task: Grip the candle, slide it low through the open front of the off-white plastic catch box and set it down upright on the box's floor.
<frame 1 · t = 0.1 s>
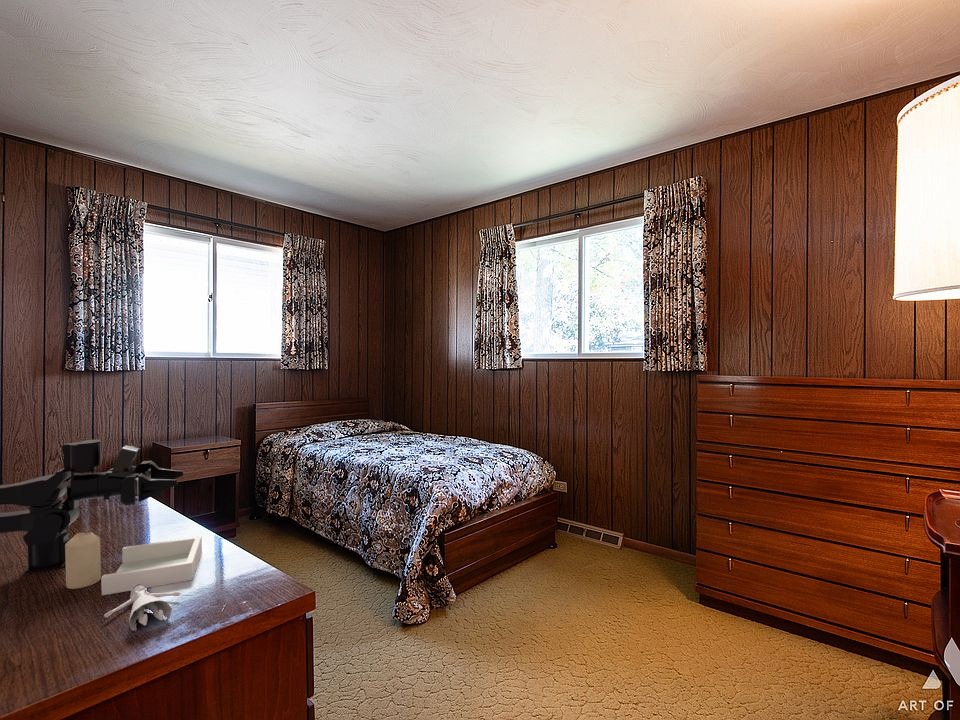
hand: (180, 477, 118), 17 cm above the dresser, tool horizontal, fingers open, 9 cm apart
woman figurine: (145, 614, 88), on the dresser
catch box: (153, 571, 104), on the dresser
candle: (83, 583, 100), on the dresser
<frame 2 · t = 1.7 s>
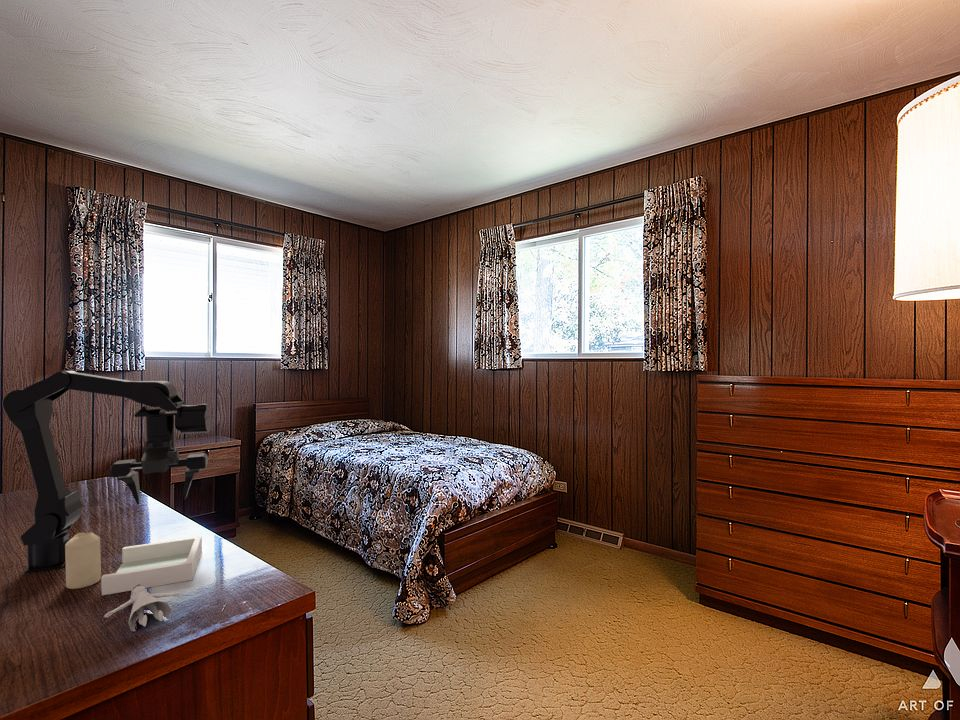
hand: (162, 501, 114), 12 cm above the dresser, tool pointing down, fingers open, 9 cm apart
nothing on the dresser moved.
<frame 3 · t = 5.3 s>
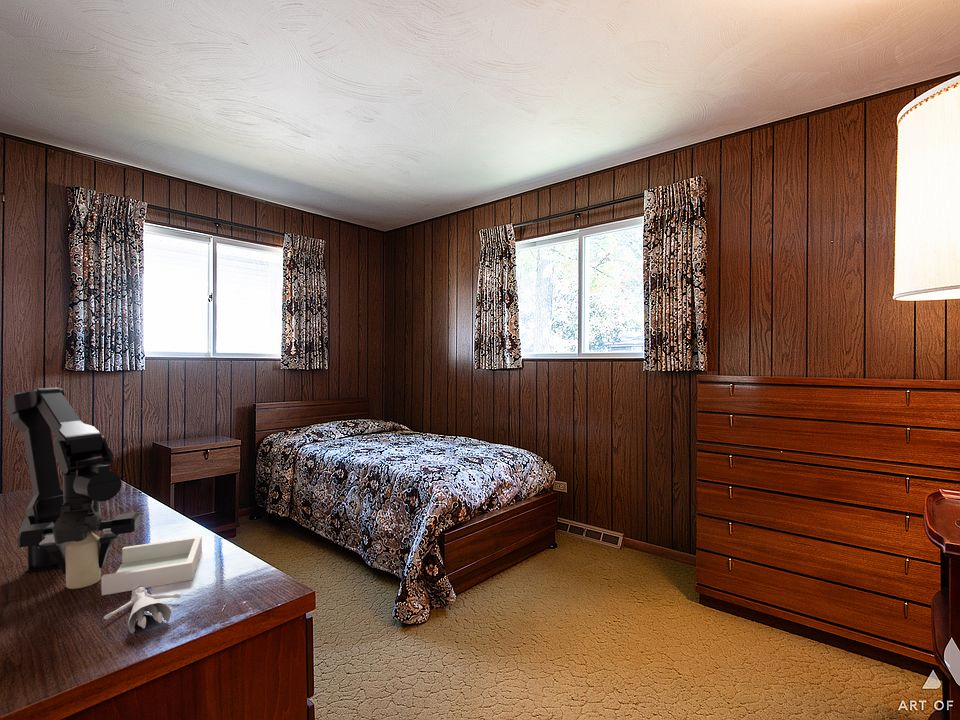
hand: (83, 570, 100), 3 cm above the dresser, tool pointing down, fingers closed on candle, 5 cm apart
candle: (83, 583, 100), on the dresser, touching gripper
when the fingers open (3 cm above the dresser, at t = 9.4 s): candle stays where it is, resting on catch box.
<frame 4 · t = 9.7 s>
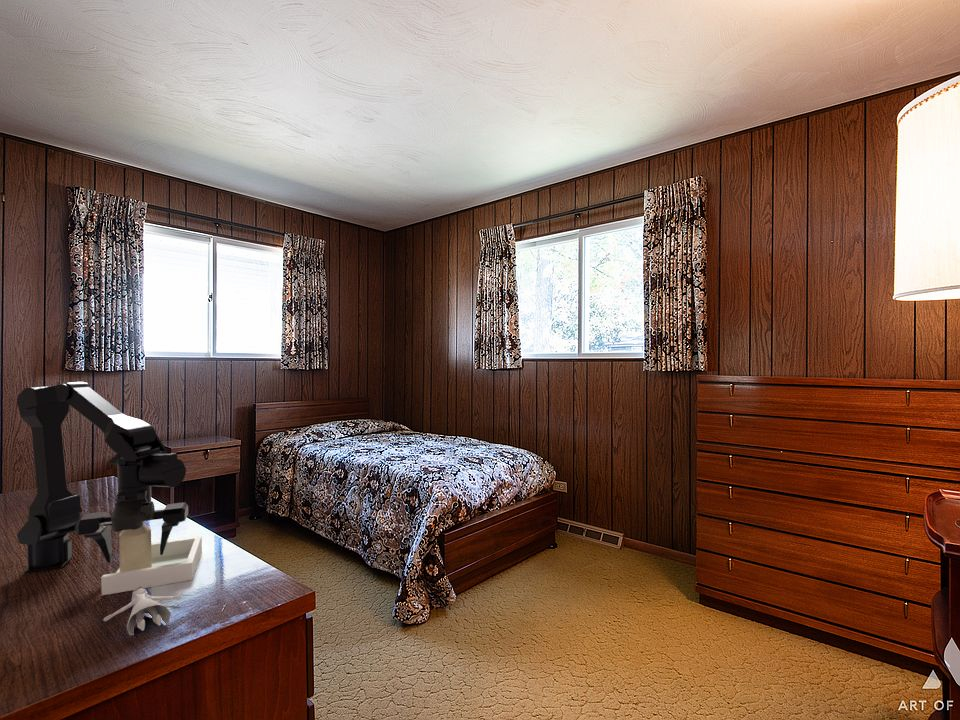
hand: (136, 558, 103), 3 cm above the dresser, tool pointing down, fingers open, 9 cm apart
candle: (136, 573, 103), resting on catch box
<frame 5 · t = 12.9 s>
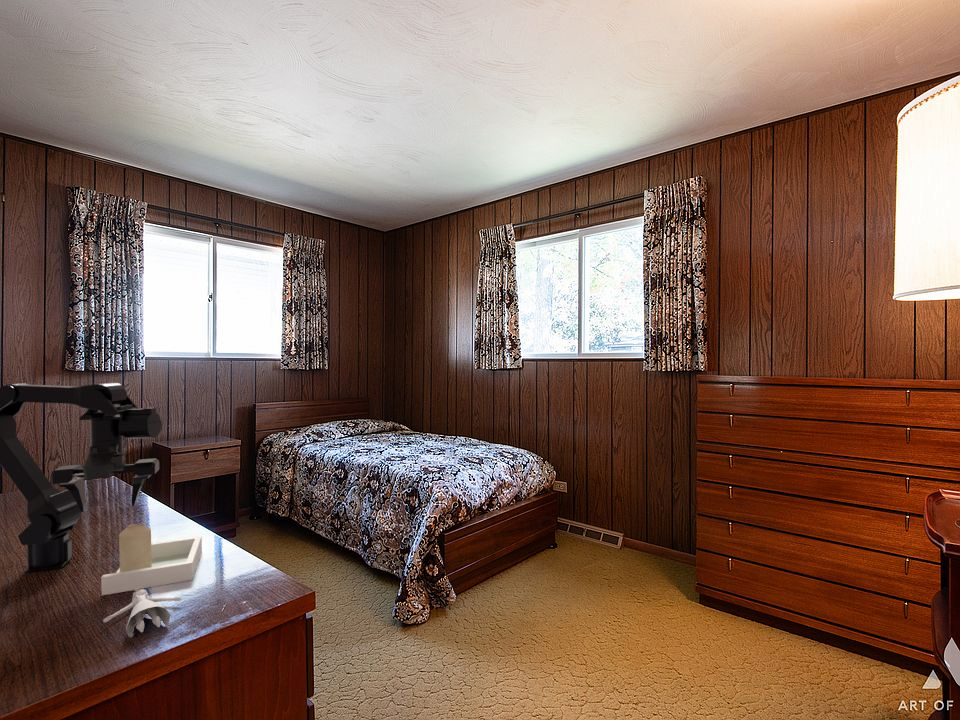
hand: (108, 508, 109), 12 cm above the dresser, tool pointing down, fingers open, 9 cm apart
at the end: candle inside the target area (2.6 cm from its centre), resting on catch box; candle tilted 0°; the gripper is holding nothing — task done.
